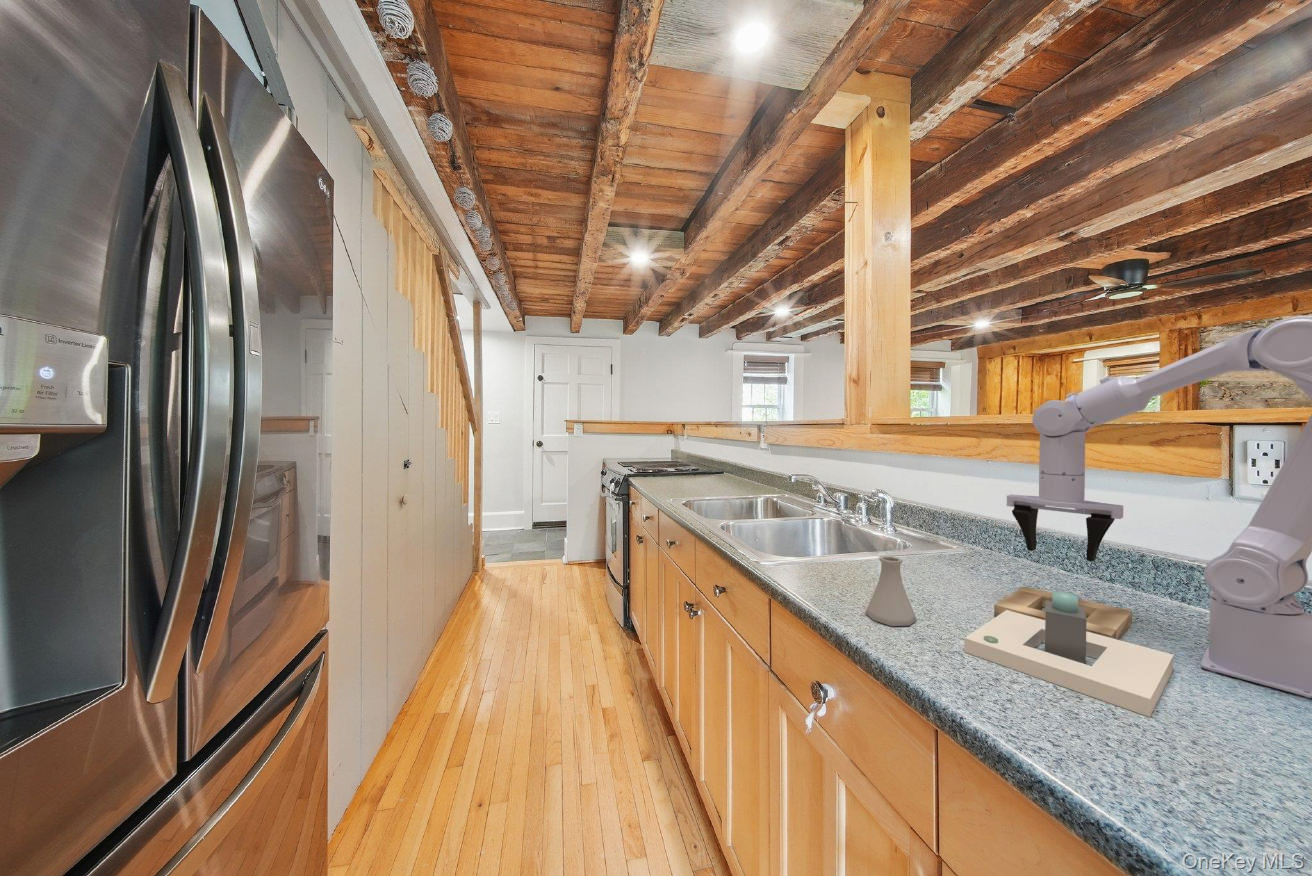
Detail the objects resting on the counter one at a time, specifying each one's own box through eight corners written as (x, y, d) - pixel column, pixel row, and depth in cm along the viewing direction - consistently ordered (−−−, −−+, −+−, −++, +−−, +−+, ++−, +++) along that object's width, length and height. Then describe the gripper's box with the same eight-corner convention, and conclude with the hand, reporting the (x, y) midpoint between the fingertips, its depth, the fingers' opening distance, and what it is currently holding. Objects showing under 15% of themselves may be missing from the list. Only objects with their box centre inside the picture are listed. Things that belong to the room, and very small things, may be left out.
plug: (1082, 657, 63) (1084, 592, 63) (1085, 672, 59) (1086, 603, 59) (1044, 648, 66) (1045, 585, 65) (1045, 662, 62) (1045, 596, 62)
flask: (856, 613, 79) (856, 555, 78) (889, 606, 81) (889, 550, 81) (891, 631, 72) (892, 567, 72) (926, 623, 74) (926, 562, 74)
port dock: (1173, 669, 60) (1173, 652, 60) (1149, 717, 50) (1150, 696, 50) (1006, 622, 74) (1006, 608, 74) (964, 651, 65) (964, 635, 65)
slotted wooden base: (1132, 623, 73) (1132, 610, 73) (1111, 649, 65) (1111, 635, 65) (1023, 597, 85) (1023, 586, 85) (994, 616, 76) (994, 604, 76)
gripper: (1128, 475, 73) (1126, 560, 74) (1016, 468, 85) (1015, 542, 85) (1118, 479, 69) (1116, 569, 69) (1002, 471, 81) (1001, 548, 81)
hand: (1060, 554), depth 77 cm, fingers open, 7 cm apart
